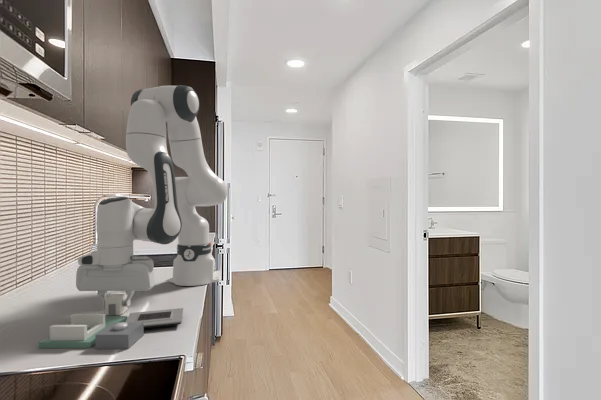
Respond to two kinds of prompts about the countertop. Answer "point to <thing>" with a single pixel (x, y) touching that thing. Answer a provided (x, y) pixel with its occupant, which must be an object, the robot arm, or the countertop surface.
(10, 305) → the countertop surface
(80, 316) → the board
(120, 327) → the grey push button
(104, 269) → the robot arm
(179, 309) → the electrical outlet
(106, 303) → the plug
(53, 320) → the countertop surface
